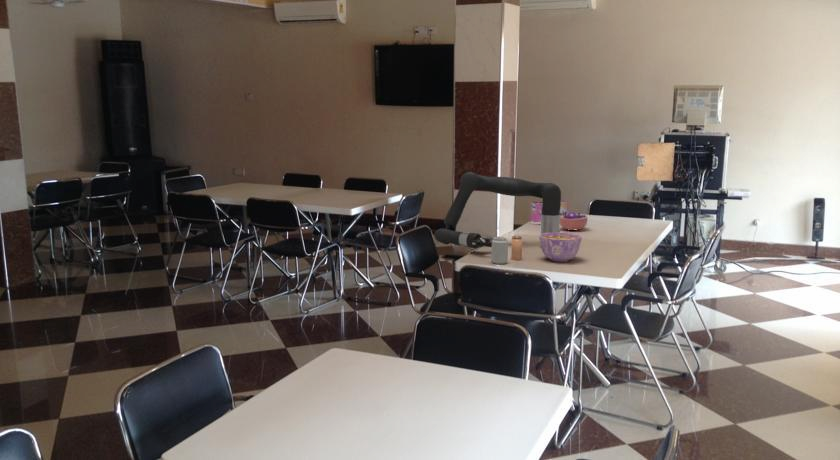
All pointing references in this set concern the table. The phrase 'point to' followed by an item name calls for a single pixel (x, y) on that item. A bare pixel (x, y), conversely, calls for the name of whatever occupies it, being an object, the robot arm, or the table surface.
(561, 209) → the gum box
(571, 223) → the cell model
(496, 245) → the can
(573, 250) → the bowl of food
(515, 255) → the jar
